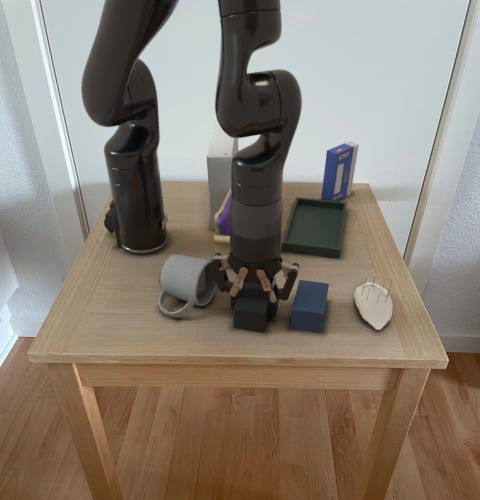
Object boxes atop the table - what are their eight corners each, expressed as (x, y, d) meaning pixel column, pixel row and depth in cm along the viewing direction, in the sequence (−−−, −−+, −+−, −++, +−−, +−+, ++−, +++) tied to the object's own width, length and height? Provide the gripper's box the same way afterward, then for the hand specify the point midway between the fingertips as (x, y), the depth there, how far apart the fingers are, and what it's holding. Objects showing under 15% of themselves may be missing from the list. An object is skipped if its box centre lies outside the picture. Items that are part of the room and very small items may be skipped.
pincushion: (396, 333, 79) (404, 305, 75) (358, 331, 79) (364, 304, 75) (383, 287, 88) (390, 260, 84) (349, 286, 88) (354, 260, 84)
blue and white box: (330, 204, 111) (337, 152, 103) (320, 200, 112) (326, 148, 104) (351, 193, 115) (360, 142, 107) (342, 189, 116) (349, 139, 108)
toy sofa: (259, 273, 91) (260, 224, 84) (214, 267, 92) (211, 219, 86) (277, 217, 106) (279, 172, 100) (237, 213, 108) (237, 169, 101)
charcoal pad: (264, 332, 79) (264, 313, 76) (233, 328, 80) (233, 309, 77) (272, 301, 85) (273, 283, 82) (244, 297, 85) (244, 279, 83)
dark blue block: (321, 332, 79) (324, 313, 76) (290, 328, 80) (292, 309, 77) (326, 302, 85) (329, 283, 82) (297, 298, 85) (299, 279, 83)
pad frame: (338, 258, 94) (340, 249, 93) (281, 251, 96) (281, 242, 95) (345, 210, 109) (346, 202, 107) (295, 205, 110) (296, 196, 109)
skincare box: (217, 184, 118) (215, 116, 108) (239, 184, 118) (240, 116, 108) (208, 229, 102) (205, 155, 92) (234, 230, 102) (234, 156, 92)
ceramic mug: (180, 277, 90) (176, 242, 85) (219, 289, 87) (218, 253, 82) (147, 312, 83) (141, 276, 78) (190, 326, 80) (186, 289, 75)
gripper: (308, 215, 72) (299, 305, 83) (214, 205, 75) (218, 293, 86) (301, 242, 67) (293, 334, 78) (200, 230, 69) (206, 321, 80)
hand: (253, 312), depth 82 cm, fingers closed on charcoal pad, 5 cm apart
